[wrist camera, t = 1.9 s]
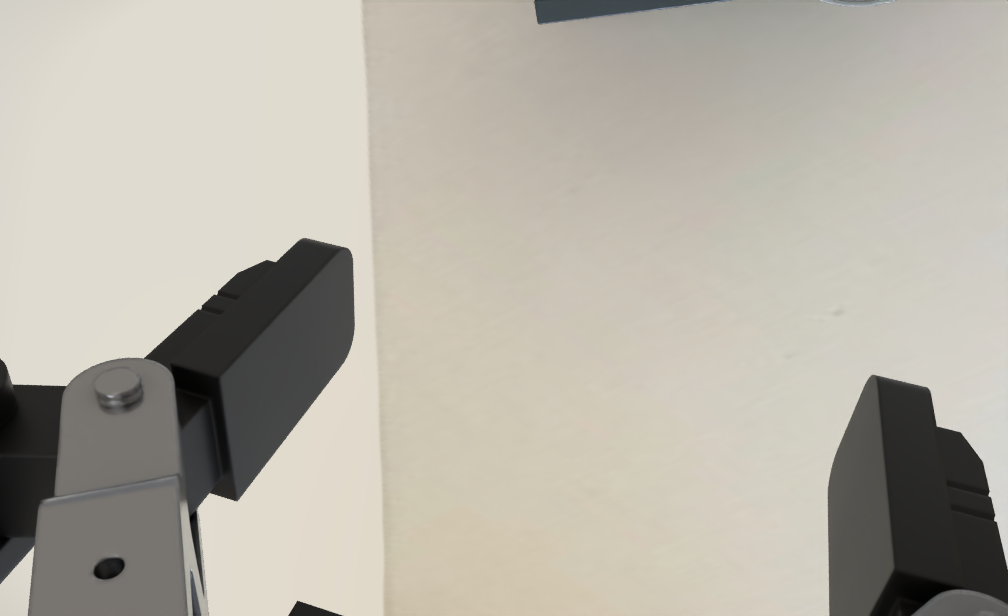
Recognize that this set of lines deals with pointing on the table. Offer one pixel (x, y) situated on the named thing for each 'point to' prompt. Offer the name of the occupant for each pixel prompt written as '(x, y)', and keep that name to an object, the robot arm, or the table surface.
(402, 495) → the table surface
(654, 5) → the divided storage bin
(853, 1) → the spray can
